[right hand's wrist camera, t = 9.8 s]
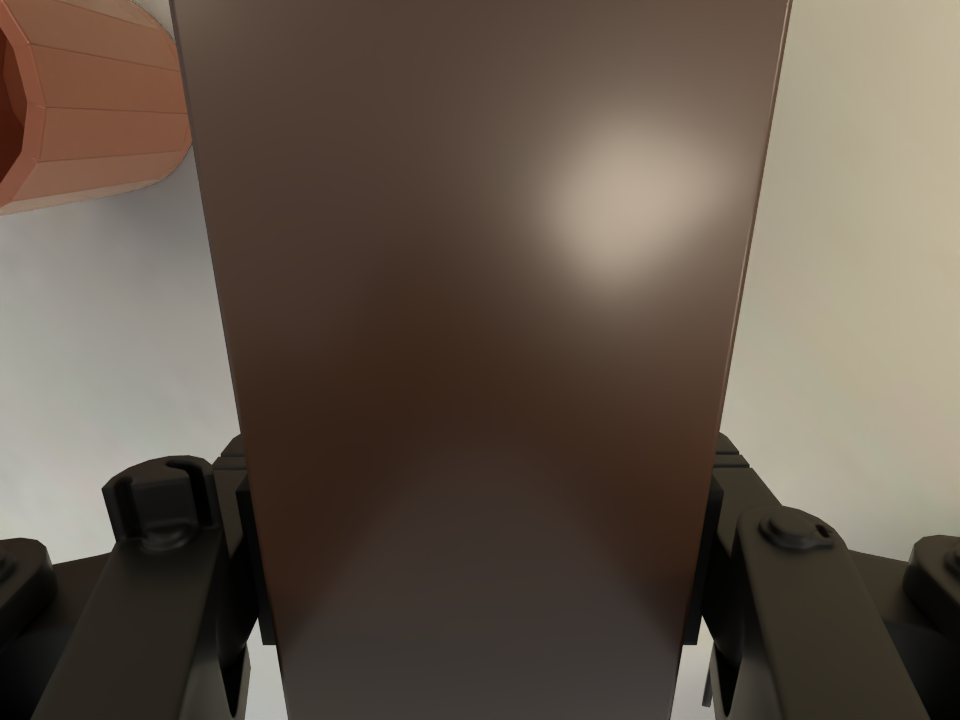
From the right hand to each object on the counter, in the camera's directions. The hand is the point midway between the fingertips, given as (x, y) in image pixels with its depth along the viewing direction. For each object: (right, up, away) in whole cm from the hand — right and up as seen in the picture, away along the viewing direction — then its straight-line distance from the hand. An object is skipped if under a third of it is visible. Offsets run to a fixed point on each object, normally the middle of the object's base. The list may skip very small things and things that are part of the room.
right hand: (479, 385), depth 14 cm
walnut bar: (0, +10, -4) cm, 11 cm away
